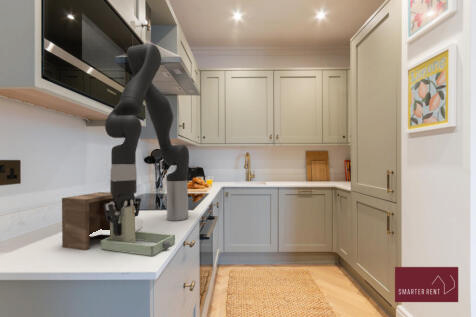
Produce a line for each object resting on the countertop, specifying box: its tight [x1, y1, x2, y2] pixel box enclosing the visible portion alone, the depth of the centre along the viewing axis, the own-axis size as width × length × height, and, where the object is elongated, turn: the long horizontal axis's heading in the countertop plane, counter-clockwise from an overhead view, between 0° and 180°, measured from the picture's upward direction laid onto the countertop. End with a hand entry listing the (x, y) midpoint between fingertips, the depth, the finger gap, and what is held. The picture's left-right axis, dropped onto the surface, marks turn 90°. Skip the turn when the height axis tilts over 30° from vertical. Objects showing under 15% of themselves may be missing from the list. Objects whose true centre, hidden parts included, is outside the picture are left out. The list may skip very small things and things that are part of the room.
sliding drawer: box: [100, 230, 176, 256], centre depth 80 cm, size 11×20×2 cm, turn 72°
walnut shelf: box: [61, 191, 113, 251], centre depth 86 cm, size 14×10×15 cm, turn 162°
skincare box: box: [109, 206, 136, 244], centre depth 81 cm, size 6×4×12 cm
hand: (123, 232), depth 81 cm, fingers closed on skincare box, 4 cm apart
